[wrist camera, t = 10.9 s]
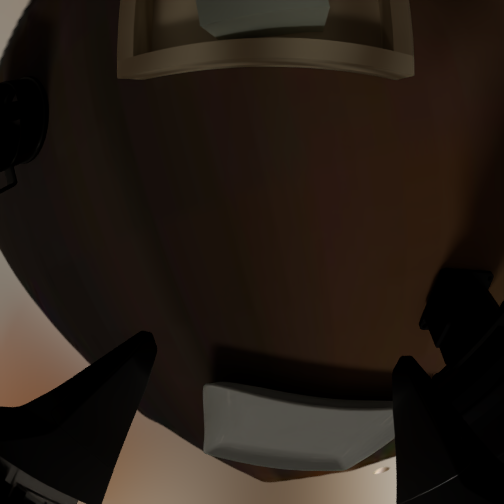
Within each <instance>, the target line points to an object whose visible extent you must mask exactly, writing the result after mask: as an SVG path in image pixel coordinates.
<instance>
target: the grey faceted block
mask: <svg viewBox="0 0 504 504" xmlns="http://www.w3.org/2000/svg"><path fill="white" fill-rule="evenodd" d="M196 5H197V10H198V16H199V22H200V26H201V27H202V28H203V29H205V30H206V31H207V32H209V33H210V34H212V35H213V36H214V37H216V38H217V39H218V40H230V39H244V38H261V37H267V36H275V35H283V34H292V33H304V32H320V31H323V30H324V26H325V23H326V19H327V16H328V12H329V9H330V5H329V1H328V0H196Z"/></svg>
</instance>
